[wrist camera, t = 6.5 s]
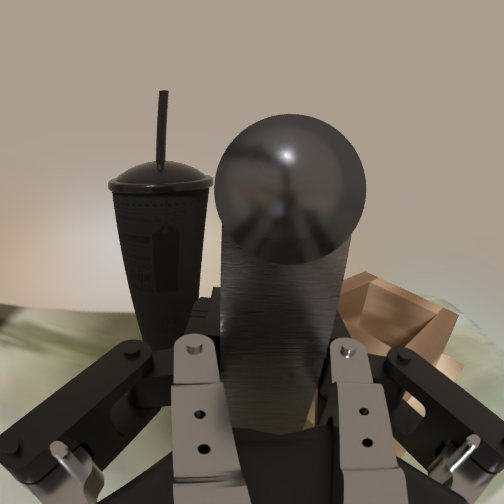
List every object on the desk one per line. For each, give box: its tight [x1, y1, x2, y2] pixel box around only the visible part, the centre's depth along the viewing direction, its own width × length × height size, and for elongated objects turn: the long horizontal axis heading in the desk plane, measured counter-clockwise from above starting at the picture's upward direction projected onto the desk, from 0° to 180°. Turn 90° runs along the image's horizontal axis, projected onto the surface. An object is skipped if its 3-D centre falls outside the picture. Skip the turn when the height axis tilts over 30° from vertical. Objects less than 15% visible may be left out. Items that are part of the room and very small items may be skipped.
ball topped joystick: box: [214, 114, 366, 435], centre depth 10 cm, size 4×3×17 cm
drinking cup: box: [108, 90, 213, 351], centre depth 21 cm, size 8×8×20 cm
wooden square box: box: [303, 272, 464, 458], centre depth 19 cm, size 14×14×6 cm
